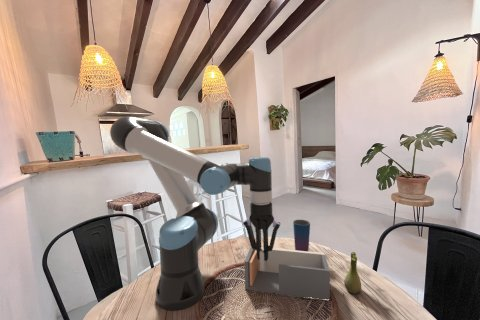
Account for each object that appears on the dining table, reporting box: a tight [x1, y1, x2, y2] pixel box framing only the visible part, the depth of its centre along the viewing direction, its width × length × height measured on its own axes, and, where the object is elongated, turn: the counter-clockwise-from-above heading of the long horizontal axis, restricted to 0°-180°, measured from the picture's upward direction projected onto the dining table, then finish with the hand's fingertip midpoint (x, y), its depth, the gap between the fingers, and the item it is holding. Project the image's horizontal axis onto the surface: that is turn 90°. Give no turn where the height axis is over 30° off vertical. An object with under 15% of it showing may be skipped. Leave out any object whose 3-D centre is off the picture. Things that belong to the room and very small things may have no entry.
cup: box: [292, 219, 311, 252], centre depth 89 cm, size 7×7×15 cm
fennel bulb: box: [343, 251, 362, 294], centre depth 68 cm, size 6×5×12 cm
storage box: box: [244, 246, 331, 299], centre depth 72 cm, size 26×11×10 cm, turn 76°
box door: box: [249, 250, 258, 286], centre depth 74 cm, size 9×1×8 cm, turn 163°
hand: (262, 268), depth 74 cm, fingers closed
